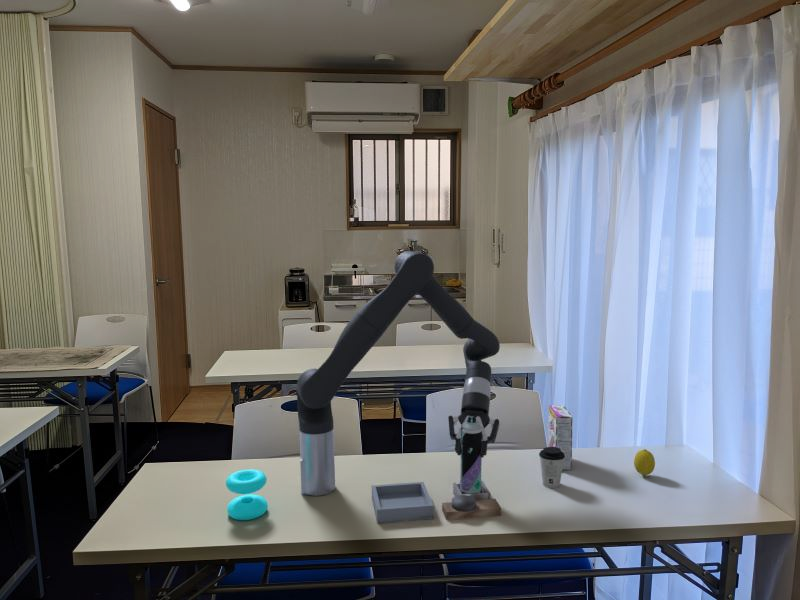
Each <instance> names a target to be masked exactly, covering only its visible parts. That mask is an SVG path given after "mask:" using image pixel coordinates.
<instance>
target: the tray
mask: <svg viewBox="0 0 800 600" xmlns="http://www.w3.org/2000/svg"><path fill="white" fill-rule="evenodd" d="M371 501H372V505H373V509H374V514H375V519H376V523H377V524H386V523H397V522H398V523H400V522H409V521H410V522H412V521H424V520H434V519H435V517H434V507H435V506H434V503H433V500H432V498H431V496H430V494H429V492H428V489H427V487H426V484H425V482H424V481H415V482H403V483H402V482H401V483H390V484H389V483H388V484H387V483H386V484H378V485H377V484H375V485H374V484H373V485H371Z"/></svg>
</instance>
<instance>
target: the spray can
mask: <svg viewBox="0 0 800 600" xmlns="http://www.w3.org/2000/svg"><path fill="white" fill-rule="evenodd" d="M460 428H461V455H460V466H459V467H460V470H459V471H460V474H459V476H460V477H459V479H460V480H459V482H460V490H461V491H462V492H463V493H466V494H477V493H479V492H480V491H481V481H482V464H483V463H482V460H483V459H482V457H481V443H482V425H481V424H479V423H477V421H476V420H475V417H470V416H469V417H468V420H467V421H466V422H465V423H463V424H462V425H461V424H460Z"/></svg>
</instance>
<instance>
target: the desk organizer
mask: <svg viewBox="0 0 800 600" xmlns="http://www.w3.org/2000/svg"><path fill="white" fill-rule="evenodd" d="M452 486H453V487H452V492H453V497H452V498H451V501H450V502H442V503H441V511H442V513H443V516H444V518H445V520H446V521H448V520H459V519H472V518H473V519H474V517H475V518H484V517H485V518H487V517H497V516H499V515H500V516H502V506H501V505H500V504H499V502H498V500H497V499H496V498H492V494H491V492H490V490H489V488H488V487H487V485H486V484H485V483H484V481H483V480H481V491H480V492H479V493H477V494H466V493H463V492H462V491H461V490H460V481H459V482H453V483H452ZM486 516H487V517H486Z"/></svg>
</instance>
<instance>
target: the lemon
mask: <svg viewBox="0 0 800 600" xmlns="http://www.w3.org/2000/svg"><path fill="white" fill-rule="evenodd" d="M633 466H634V468H635V470H636V472H638V474H640V475H641V476H642V475H644V476H643V477H646V476H647V475H650V474H651V473H653V472H654V470H655V467H656V460H655V457H654V455H653V453H652V452H651V451H649V450H647V449H646V448H644V449H642V450H639V451H638V452H637V453H635V455H634V460H633ZM645 475H646V476H645Z"/></svg>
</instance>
